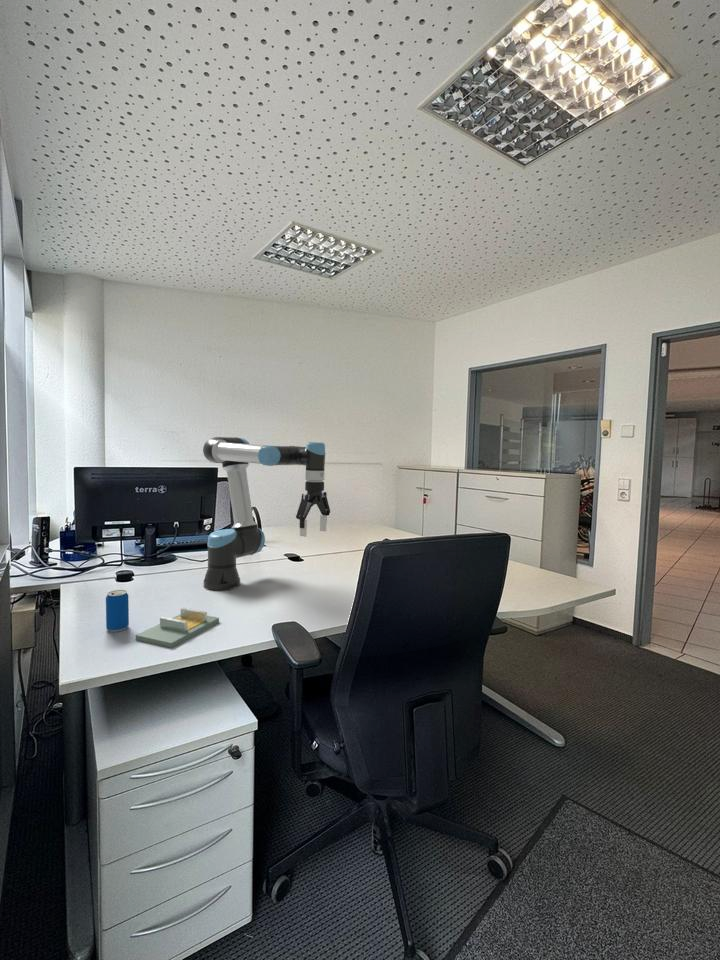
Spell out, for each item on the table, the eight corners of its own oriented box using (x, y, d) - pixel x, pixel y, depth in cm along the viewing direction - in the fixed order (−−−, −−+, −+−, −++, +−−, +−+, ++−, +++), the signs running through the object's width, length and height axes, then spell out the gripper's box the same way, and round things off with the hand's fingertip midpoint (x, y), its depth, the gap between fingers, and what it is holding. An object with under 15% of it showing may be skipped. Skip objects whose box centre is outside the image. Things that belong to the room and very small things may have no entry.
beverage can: (111, 624, 152) (111, 589, 151) (132, 624, 152) (131, 589, 152) (102, 632, 145) (102, 596, 145) (123, 632, 146) (123, 595, 145)
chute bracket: (159, 626, 147) (159, 617, 147) (183, 616, 157) (183, 607, 157) (184, 632, 144) (184, 622, 144) (206, 620, 154) (206, 612, 153)
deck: (135, 639, 141) (135, 635, 141) (186, 615, 161) (186, 611, 161) (171, 647, 136) (171, 643, 136) (218, 622, 157) (218, 617, 156)
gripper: (303, 483, 170) (301, 539, 171) (339, 480, 191) (337, 530, 193) (287, 482, 173) (286, 537, 175) (324, 478, 195) (323, 527, 197)
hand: (313, 533), depth 184 cm, fingers open, 13 cm apart
